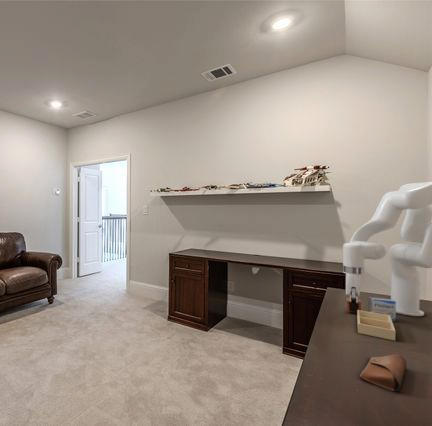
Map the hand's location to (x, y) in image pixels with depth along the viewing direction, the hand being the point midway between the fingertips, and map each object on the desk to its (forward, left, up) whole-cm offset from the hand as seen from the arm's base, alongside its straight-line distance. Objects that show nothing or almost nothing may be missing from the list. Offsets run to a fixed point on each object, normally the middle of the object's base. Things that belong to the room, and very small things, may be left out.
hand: (353, 309), depth 136 cm
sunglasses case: (+60, +6, -2) cm, 60 cm away
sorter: (+18, +6, -2) cm, 19 cm away
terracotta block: (0, 0, -1) cm, 1 cm away
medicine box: (+2, +9, -2) cm, 10 cm away
